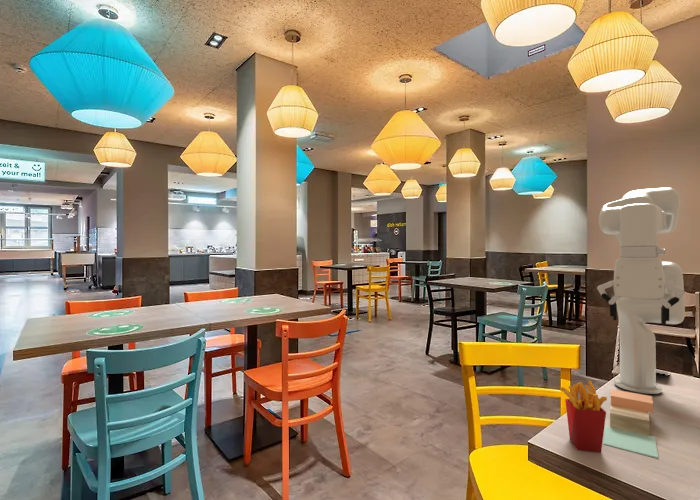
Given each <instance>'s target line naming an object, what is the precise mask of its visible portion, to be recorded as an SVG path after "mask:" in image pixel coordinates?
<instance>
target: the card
mask: <svg viewBox="0 0 700 500" xmlns="http://www.w3.org/2000/svg"><path fill="white" fill-rule="evenodd" d="M611 405H614V406H619V407H624V408H629V409H634V410H639V411H644V412H648V414H649V413H650V414H654V400H653V396H652V395H649V394H643V393H638V392H632V391H624V390H620V389H619V390H618V389H614V388H611V390H610V406H611Z"/></svg>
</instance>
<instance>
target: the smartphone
mask: <svg viewBox="0 0 700 500" xmlns="http://www.w3.org/2000/svg"><path fill="white" fill-rule="evenodd" d="M657 373H659V374H658V375H662V374H665V375H664V376H668V374H669V371H665V370H659V369H656V374H657Z"/></svg>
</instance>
